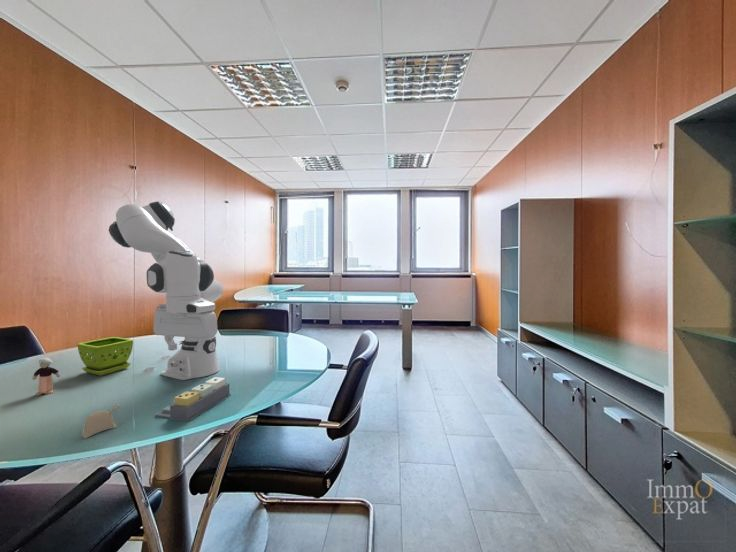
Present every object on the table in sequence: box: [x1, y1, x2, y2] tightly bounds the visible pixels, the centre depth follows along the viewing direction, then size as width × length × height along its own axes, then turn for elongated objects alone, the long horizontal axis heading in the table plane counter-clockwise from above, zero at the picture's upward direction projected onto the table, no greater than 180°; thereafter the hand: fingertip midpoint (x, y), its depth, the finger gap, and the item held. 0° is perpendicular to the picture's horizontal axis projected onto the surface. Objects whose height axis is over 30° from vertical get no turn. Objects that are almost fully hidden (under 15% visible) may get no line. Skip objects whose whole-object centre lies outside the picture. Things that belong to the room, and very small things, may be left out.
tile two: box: [190, 383, 213, 398], centre depth 97 cm, size 4×4×4 cm
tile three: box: [174, 391, 199, 407], centre depth 91 cm, size 4×4×4 cm
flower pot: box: [77, 336, 134, 376], centre depth 129 cm, size 14×14×13 cm
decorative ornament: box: [81, 404, 120, 439], centre depth 84 cm, size 4×8×5 cm, turn 145°
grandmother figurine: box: [31, 356, 61, 396], centre depth 107 cm, size 8×4×13 cm, turn 117°
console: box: [154, 382, 232, 422], centre depth 98 cm, size 12×18×4 cm, turn 166°
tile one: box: [204, 376, 227, 390], centre depth 103 cm, size 4×4×4 cm
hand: (185, 351), depth 91 cm, fingers open, 8 cm apart
